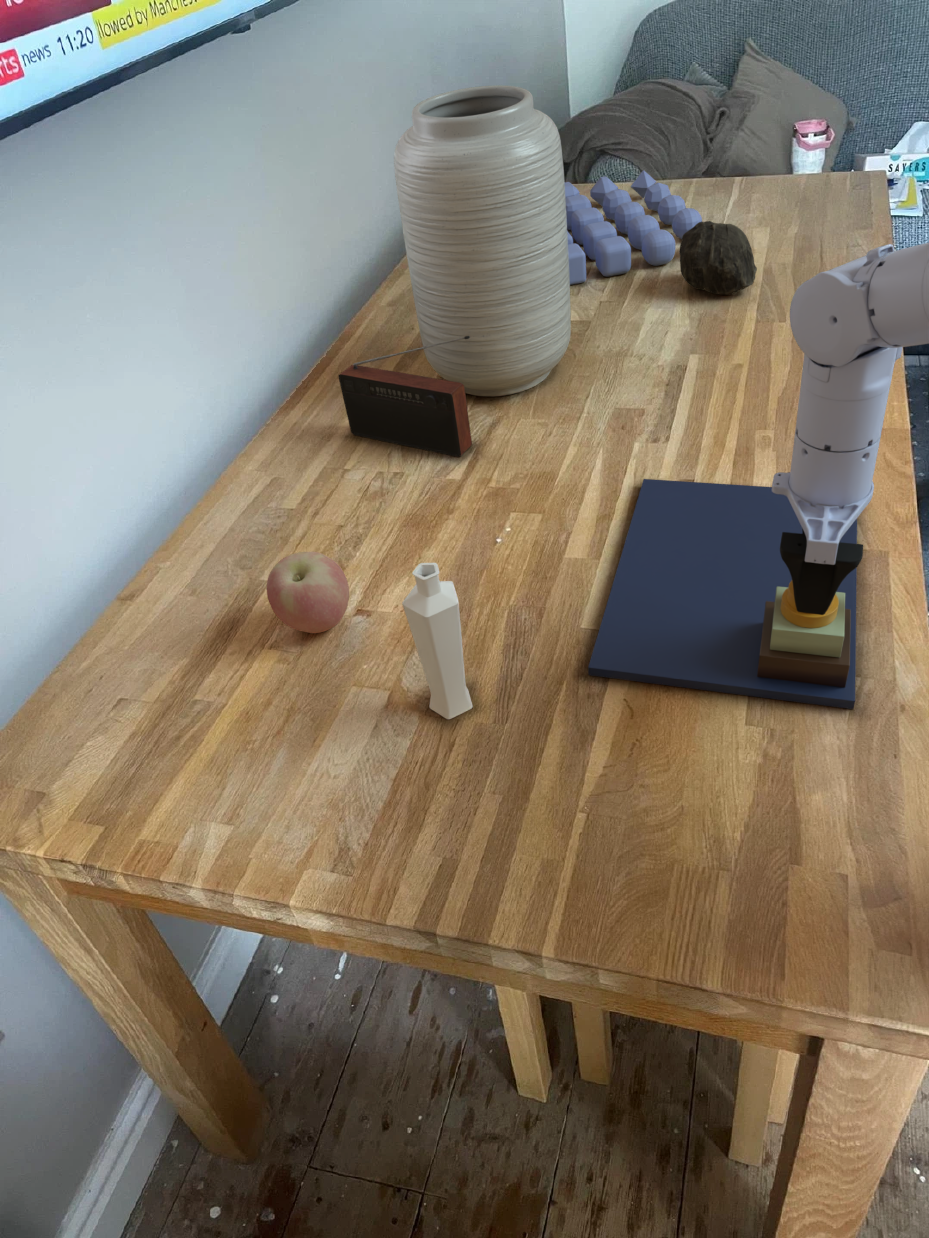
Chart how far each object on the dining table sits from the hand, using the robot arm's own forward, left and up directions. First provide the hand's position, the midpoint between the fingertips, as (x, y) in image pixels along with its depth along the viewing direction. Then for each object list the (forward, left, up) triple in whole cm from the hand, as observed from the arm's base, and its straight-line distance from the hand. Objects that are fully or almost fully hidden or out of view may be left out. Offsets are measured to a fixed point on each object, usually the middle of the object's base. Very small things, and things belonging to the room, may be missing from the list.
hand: (814, 579), depth 75 cm
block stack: (0, 0, -8) cm, 8 cm away
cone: (0, 0, -3) cm, 3 cm away
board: (+12, -2, -9) cm, 15 cm away
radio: (+55, +13, -10) cm, 57 cm away
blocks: (+98, -38, -10) cm, 106 cm away
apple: (+29, +35, -10) cm, 46 cm away
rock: (+68, -42, -10) cm, 80 cm away
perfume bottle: (+12, +28, -10) cm, 32 cm away
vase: (+65, -4, -10) cm, 66 cm away
